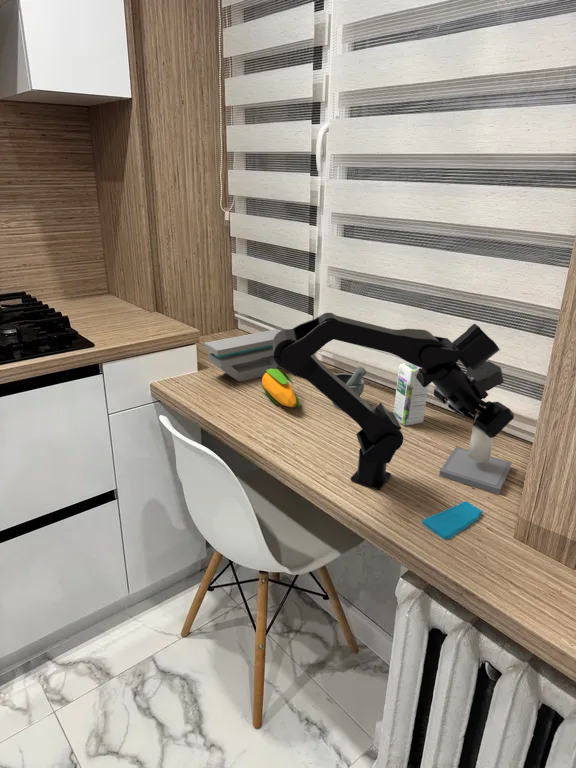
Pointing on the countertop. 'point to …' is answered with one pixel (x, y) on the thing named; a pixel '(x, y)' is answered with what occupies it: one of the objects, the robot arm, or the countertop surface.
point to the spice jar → (480, 445)
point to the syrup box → (409, 396)
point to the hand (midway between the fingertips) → (490, 426)
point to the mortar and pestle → (353, 380)
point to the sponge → (453, 520)
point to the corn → (279, 388)
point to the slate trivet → (476, 471)
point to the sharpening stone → (244, 354)
